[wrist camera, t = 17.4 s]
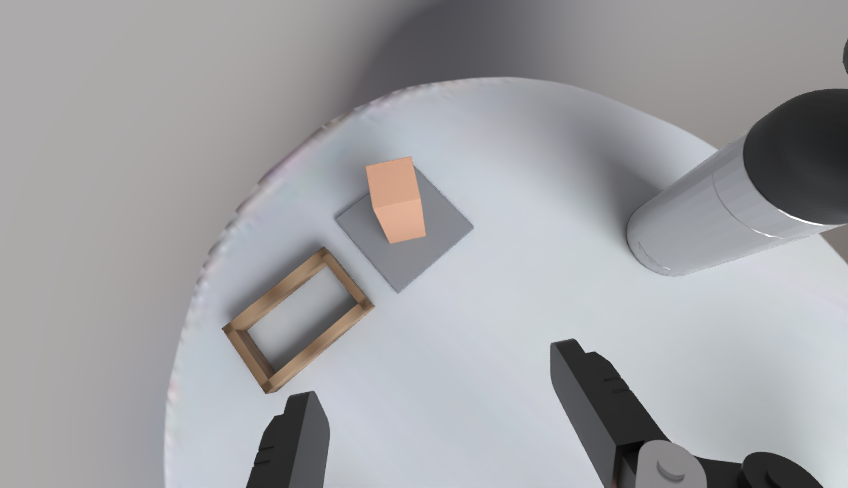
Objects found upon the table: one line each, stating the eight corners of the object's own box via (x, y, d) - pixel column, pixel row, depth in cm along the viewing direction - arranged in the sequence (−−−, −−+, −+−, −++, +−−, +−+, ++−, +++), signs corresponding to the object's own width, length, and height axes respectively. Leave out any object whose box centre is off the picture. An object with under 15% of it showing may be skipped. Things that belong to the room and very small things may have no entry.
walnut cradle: (330, 252, 44) (323, 246, 41) (375, 306, 42) (370, 304, 39) (234, 329, 42) (221, 328, 39) (276, 391, 39) (265, 394, 37)
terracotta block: (418, 202, 44) (411, 156, 34) (425, 236, 43) (420, 198, 32) (383, 210, 44) (365, 166, 34) (389, 243, 43) (373, 208, 32)
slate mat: (409, 164, 47) (409, 160, 46) (473, 228, 44) (473, 226, 43) (336, 222, 45) (335, 219, 44) (398, 293, 42) (397, 292, 41)
